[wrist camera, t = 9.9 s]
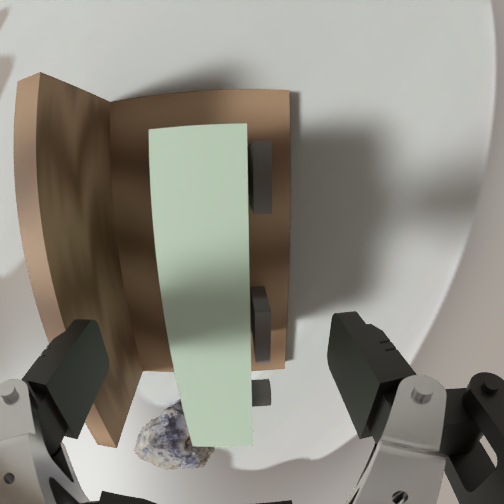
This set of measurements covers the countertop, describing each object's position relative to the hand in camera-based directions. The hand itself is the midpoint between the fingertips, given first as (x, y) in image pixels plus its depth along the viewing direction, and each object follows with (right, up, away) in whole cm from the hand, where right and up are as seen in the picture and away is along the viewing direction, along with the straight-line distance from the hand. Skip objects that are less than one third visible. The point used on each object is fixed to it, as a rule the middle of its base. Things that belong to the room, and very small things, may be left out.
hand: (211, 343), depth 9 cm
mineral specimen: (-7, -15, +18) cm, 25 cm away
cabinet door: (-1, +3, +11) cm, 12 cm away
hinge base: (-3, +3, +12) cm, 13 cm away
